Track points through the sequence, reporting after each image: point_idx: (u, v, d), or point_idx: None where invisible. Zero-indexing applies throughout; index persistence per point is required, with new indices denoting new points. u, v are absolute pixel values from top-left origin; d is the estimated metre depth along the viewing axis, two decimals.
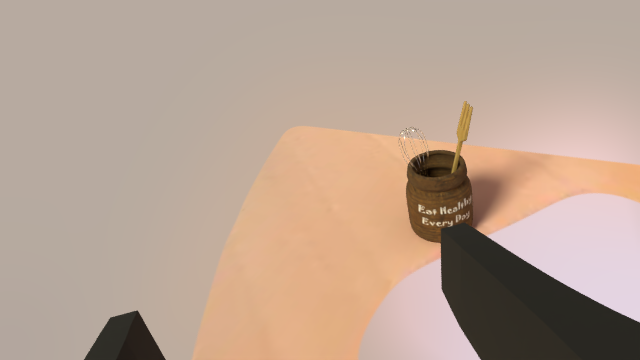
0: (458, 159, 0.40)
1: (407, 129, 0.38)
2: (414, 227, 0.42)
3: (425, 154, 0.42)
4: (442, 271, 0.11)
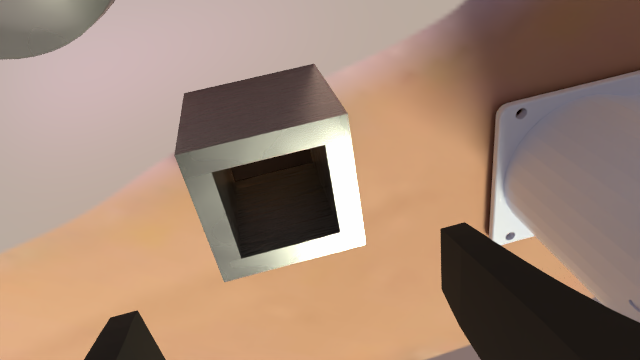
0: None
1: None
2: None
3: None
4: (442, 271, 0.11)
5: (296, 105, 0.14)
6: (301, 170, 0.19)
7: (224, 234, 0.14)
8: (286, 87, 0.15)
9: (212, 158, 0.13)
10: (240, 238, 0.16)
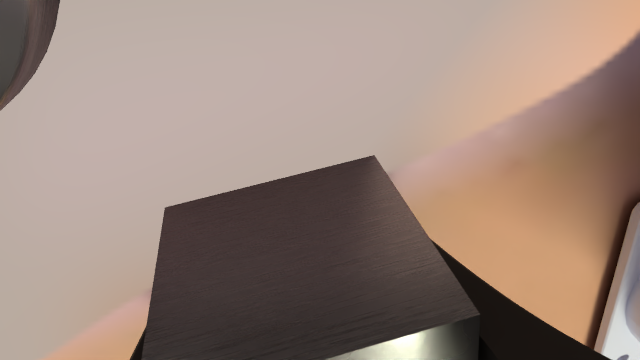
0: None
1: None
2: None
3: None
4: None
5: (366, 269, 0.08)
6: None
7: None
8: (337, 212, 0.09)
9: None
10: None
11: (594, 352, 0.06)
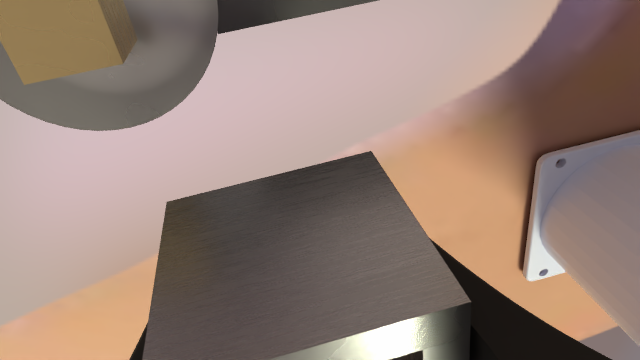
0: None
1: None
2: None
3: None
4: None
5: (361, 259, 0.08)
6: None
7: None
8: (334, 206, 0.09)
9: None
10: None
11: (594, 352, 0.06)
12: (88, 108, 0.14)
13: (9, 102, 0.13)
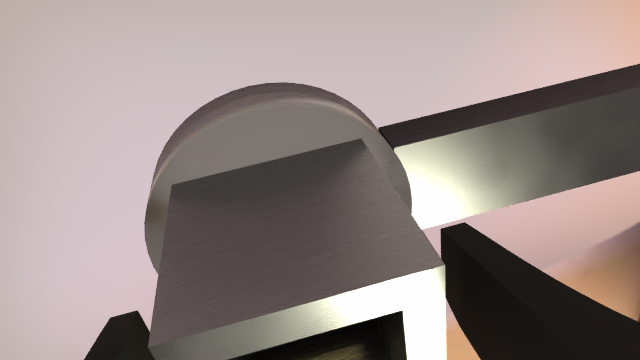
0: None
1: None
2: None
3: None
4: None
5: (349, 232, 0.09)
6: None
7: None
8: (326, 186, 0.10)
9: (214, 345, 0.07)
10: None
11: None
12: None
13: None
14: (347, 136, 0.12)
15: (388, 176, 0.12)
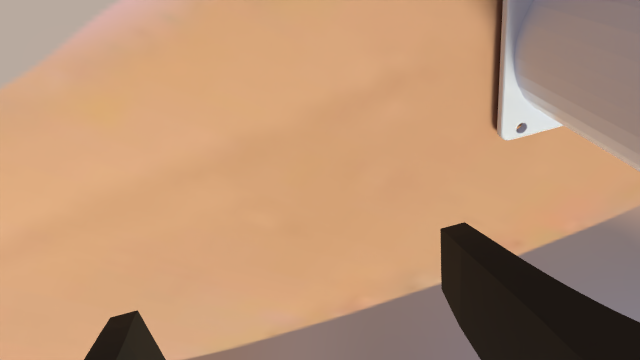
0: None
1: None
2: None
3: None
4: (442, 271, 0.11)
5: None
6: None
7: None
8: None
9: None
10: None
11: None
12: None
13: None
14: None
15: None
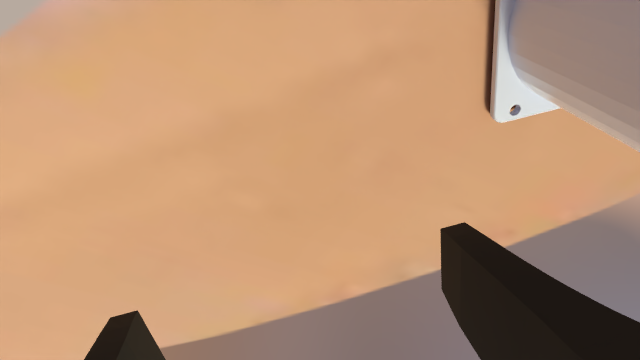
0: None
1: None
2: None
3: None
4: (442, 271, 0.11)
5: None
6: None
7: None
8: None
9: None
10: None
11: None
12: None
13: None
14: None
15: None
